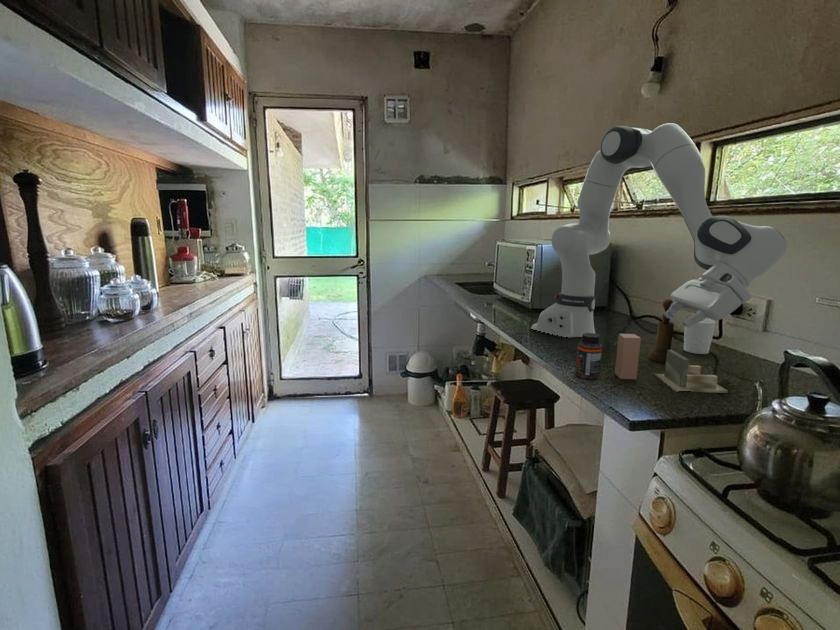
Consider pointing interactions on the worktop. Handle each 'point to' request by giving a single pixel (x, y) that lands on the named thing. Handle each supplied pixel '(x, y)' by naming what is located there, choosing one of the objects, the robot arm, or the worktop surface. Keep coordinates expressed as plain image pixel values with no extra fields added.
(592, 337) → the supplement bottle
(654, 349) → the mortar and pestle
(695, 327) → the white cup
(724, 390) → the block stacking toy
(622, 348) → the pink rectangular block
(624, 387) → the worktop surface
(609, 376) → the worktop surface
